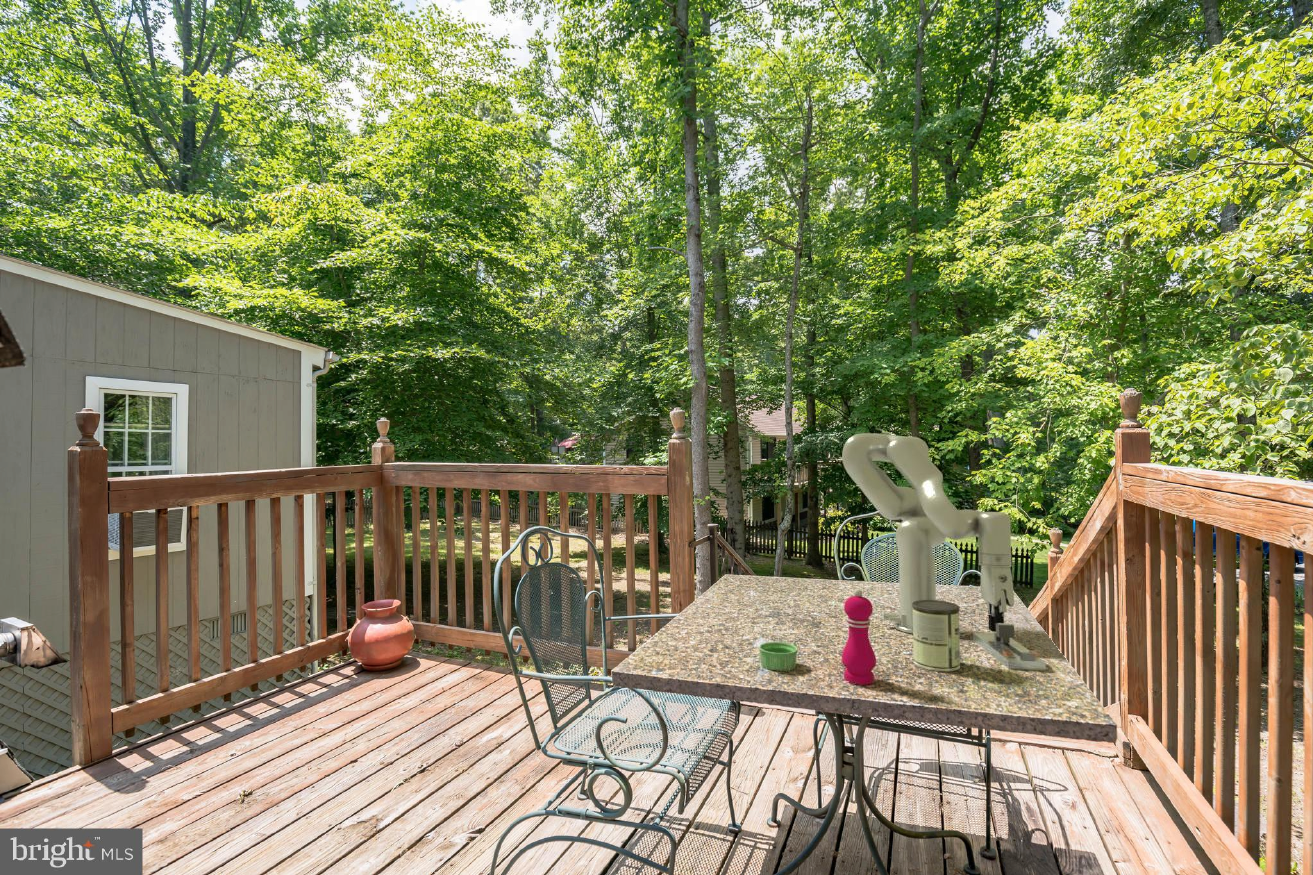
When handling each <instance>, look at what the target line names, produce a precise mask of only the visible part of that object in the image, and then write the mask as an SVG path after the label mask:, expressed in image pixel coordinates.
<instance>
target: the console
mask: <svg viewBox="0 0 1313 875" xmlns="http://www.w3.org/2000/svg"><path fill="white" fill-rule="evenodd" d="M972 641H973V642H974V643H976V644H977V645H978V646H979V647H981V648H982V649H983V650H984V651H985V652H987V653H988V654H989V655H991V656H992V657H993V658H994V659H995V660H997V662H999V663H1001V664H1002V665H1003V666H1004V667H1005V668H1006V669H1008V670H1021V671H1023V670H1026V671H1046V661H1045V660H1044V659H1042V658H1041V657H1040V656H1039V653H1038V652H1037V651H1035V650H1033V649H1032V650H1029V649H1028V648H1026V647H1025V646H1024V645H1022V644H1021V643H1019V642H1018V641H1017V640H1014V638H1010V643H1002V642H1001V637H998V636H997V635H996V632H972Z"/></svg>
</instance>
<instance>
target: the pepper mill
mask: <svg viewBox="0 0 1313 875" xmlns="http://www.w3.org/2000/svg"><path fill="white" fill-rule="evenodd" d="M843 608H844V609H843V611H844V613H845V615H847V617H846V620H847V621H846V625H848V637H847V641H846V644H845V646H844V648H843V650H842V655H841V663H842V665H843V666H844V667H845V669H844V672H843V675H844V677H843V678H844V680H846V681H845V682H847V681H849V682H850V683H849V682H848V683H849V684H851V683H856V684H860V685H859V686H869V685H868V684H870V685H872V684H874V682H875V674H874V672H873V670H874V669H875V667H876V666H877V660H876V653H875V651H874V649H873V648H872V645H871V643H870V638H869V627H870V626H871V619H870V617H871V615H873V610H874V609H873V604H872V602H871V601H870V599H869V598H868V597H865V596H863V591H862V589H860V588H855V589H854V591H853V595H852V596H850V597H848V598H847V599H846V600H845V601H844V606H843ZM871 683H872V684H871Z"/></svg>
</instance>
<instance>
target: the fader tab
mask: <svg viewBox="0 0 1313 875" xmlns="http://www.w3.org/2000/svg"><path fill="white" fill-rule="evenodd" d="M995 633H996V635H997V636H998V637H1001V642H1002V643H1010V638H1012V639H1015V625H1014V624H1013V623H1005V622H1004V623H996V632H995Z"/></svg>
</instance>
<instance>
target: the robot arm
mask: <svg viewBox="0 0 1313 875" xmlns="http://www.w3.org/2000/svg"><path fill="white" fill-rule="evenodd" d="M841 454H842V463H843V468H844V469H845V470H846V473H847V474H848V475H849V477H850V478H851V480H852V481H853V482H854V483H855V484H856V485H857V487H858V488H859V489H860V490H861V491H862V493H863V494H864V495H865V496H866V498H867V499H868V501H869V502H870V503H871V504H872V505H873V506H874V508H875V509H876V510H877V511H878V513H879V514H880V515H881V517H883V518H885V519H886V520H890V521H898V520H901V522H900V523H899V524H898V526H897V528H896V532H895V540H896V547H897V553H898V568H899V569H898V570H899V572H898V574H899V576H898V577H899V609H897V610H896V612H893V613H886V612H885V613H884V612H882V616H881V617H882V621H888V622H889V623H890V622H892V623H894V624H893V626H894V628H895V629H897V630H898V631H901V632H904V633H907V634H913V607H912V603H913V602H915V601H919V600H937V589H936V588H937V586H936V584H937V583H936V580H937V578H936V575H937V574H936V562H935V561H936V560H935V557H934V553H933V552H934V551H933V548H936V547H939V546H941V545H942V544H944V542H945V541H946V540H947V538H948V539H950V540H954V541H960V540H964V539H968V538H970V539H971V538H976V537H977V538H978V539H977V540H978V543H977V544H978V565H979V566H981V569H980V596H981V599H983V600H984V601H985V604H986V605H987V613H988V630H989V631H991V633H996V623H1005V613H1007V612H1008V609H1007V606H1008V607H1014V606H1015V605H1014V604H1015V597H1014V596H1015V595H1014V585H1013V584H1014V583H1013V576H1012V570H1011V567H1012V537H1011V536H1012V533H1011V531H1012V530H1011V517H1010V515H1009V514H1007V513H1005V512H1000V511H985V512H984V511H979V510H974V509H969V508H968V509H960V510H959V509H957V507H956V506H955V505H954V504H953V503H952V502H951V500H950V499H949V498H948V496H947V495H946V493H945V491H944V488H943V480H944V479H943V478H944V476H943V473H942V471H940V470H939V468H938V467H937V466H936V465H935V464H934V463H933V462H932V461H931V459H930V458H929V454H930V449H929V446H928V445H927V443H926V442H925V441H924V440H923V439H921V438H920V437H917V436H905V435H904V436H903V435H895V434H884V433H871V432H870V433H869V432H867V433H863V432H862V433H856V434H854V435H851V436H850V437H849V438H848V439H847V440H846V441H845V443H844V446H843V448H842V453H841ZM875 462H886V463H892V464H893V465H894V467H895V468H896V469H897V470H898V472H899V473H900V474H901V475H902V476H903V477H904V479H905V480H906V481H907V482H908V484H909V485H910V486H911V487H908V486H898V485H896V484H895V482H893V481H892V479H891V478H890V477H889V476H888V474H887V473H886V472H885V471H884V470H882V468H880V467H879V466H877V464H876V463H875Z"/></svg>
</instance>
